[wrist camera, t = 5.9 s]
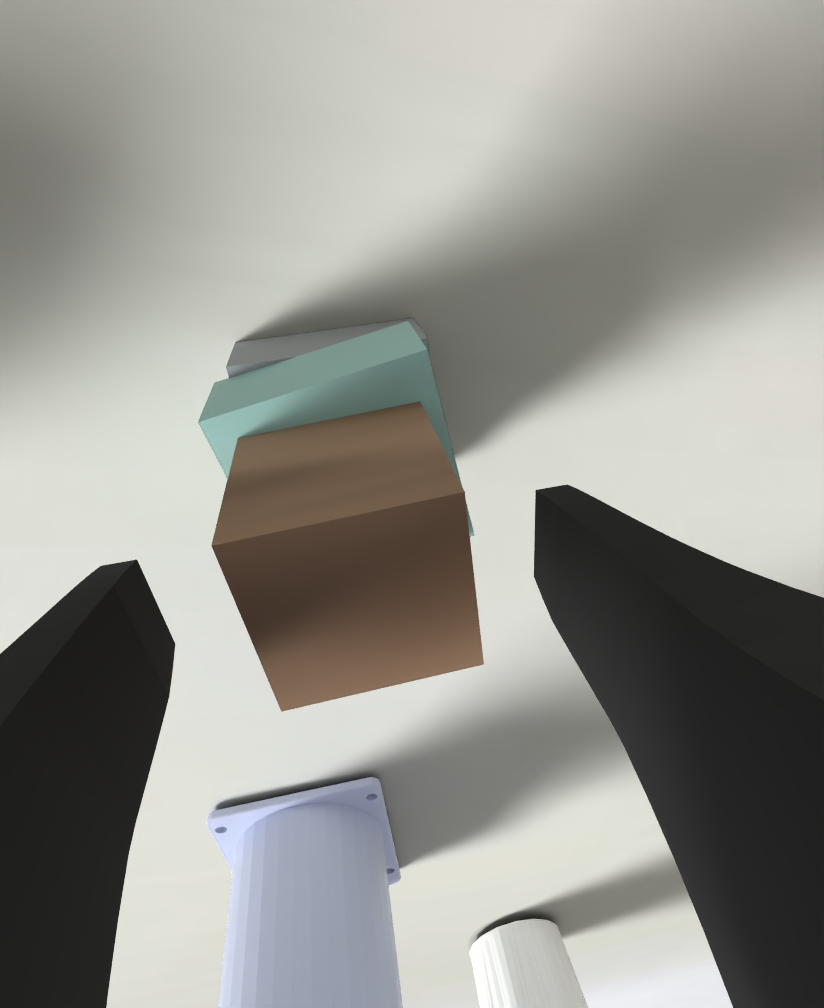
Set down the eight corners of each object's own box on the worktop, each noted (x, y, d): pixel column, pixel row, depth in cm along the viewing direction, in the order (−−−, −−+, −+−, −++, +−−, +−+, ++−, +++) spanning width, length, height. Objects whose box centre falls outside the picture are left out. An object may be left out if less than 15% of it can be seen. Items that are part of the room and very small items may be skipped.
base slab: (425, 467, 19) (440, 505, 17) (276, 491, 18) (272, 534, 16) (411, 315, 16) (427, 338, 14) (236, 339, 16) (226, 366, 14)
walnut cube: (441, 546, 14) (483, 664, 11) (286, 580, 14) (281, 711, 11) (420, 401, 12) (464, 491, 9) (237, 438, 12) (211, 545, 9)
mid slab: (452, 487, 16) (474, 535, 14) (290, 539, 16) (288, 594, 14) (408, 320, 14) (426, 349, 12) (214, 382, 14) (198, 422, 12)
